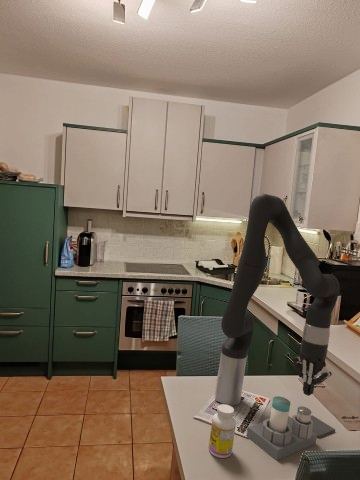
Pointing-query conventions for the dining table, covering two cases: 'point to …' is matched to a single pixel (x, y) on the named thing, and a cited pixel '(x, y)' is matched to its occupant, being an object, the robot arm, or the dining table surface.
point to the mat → (321, 427)
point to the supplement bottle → (222, 432)
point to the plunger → (303, 415)
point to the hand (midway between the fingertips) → (307, 394)
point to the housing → (282, 437)
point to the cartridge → (279, 414)
